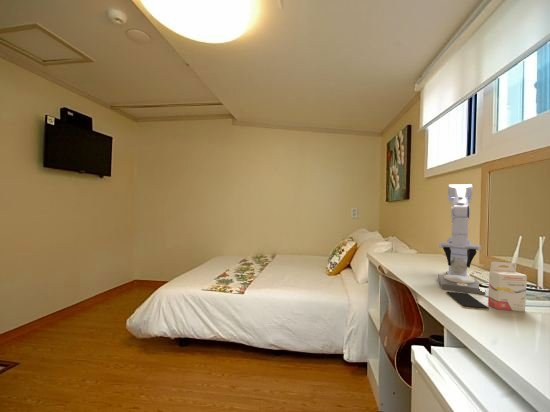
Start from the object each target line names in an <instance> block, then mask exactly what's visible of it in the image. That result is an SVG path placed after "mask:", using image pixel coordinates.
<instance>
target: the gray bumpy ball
mask: <svg viewBox="0 0 550 412" xmlns="http://www.w3.org/2000/svg"><path fill="white" fill-rule="evenodd" d="M451 269H452V271H453V272H454V273H456V274H463V273H464V272H465V271H466V269H467V270H468V267H467V264H466V262H465V261H464V259H462V258H460V257H454V259H453V260H451Z"/></svg>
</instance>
